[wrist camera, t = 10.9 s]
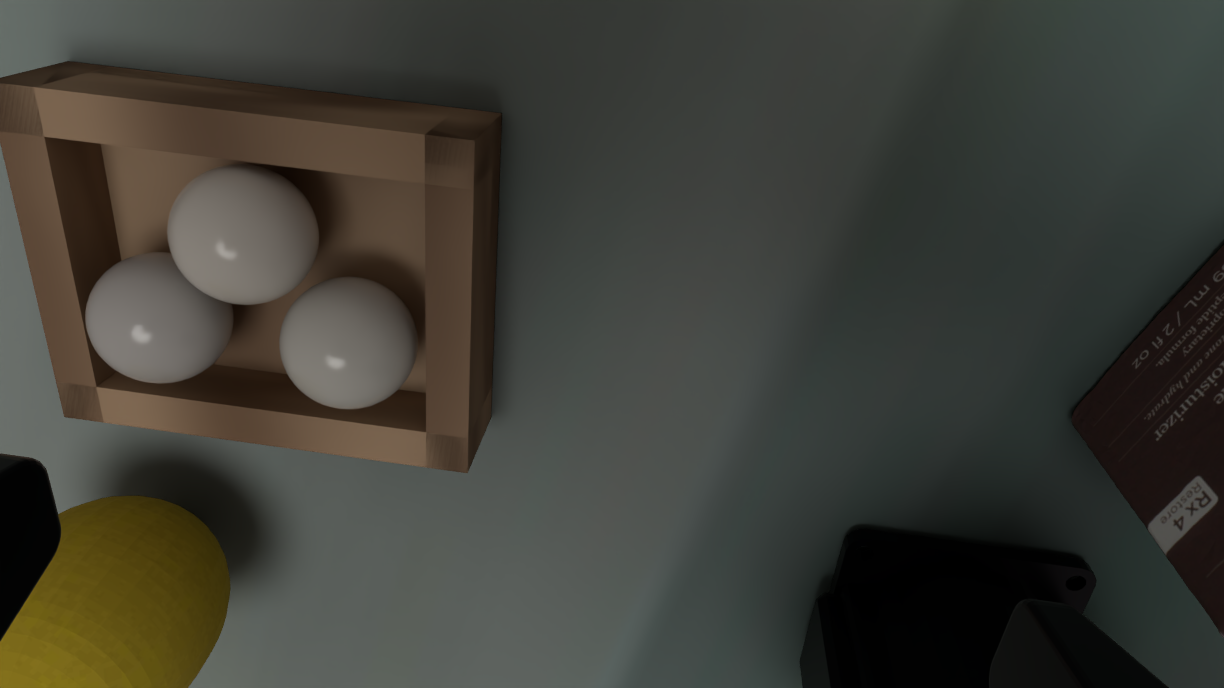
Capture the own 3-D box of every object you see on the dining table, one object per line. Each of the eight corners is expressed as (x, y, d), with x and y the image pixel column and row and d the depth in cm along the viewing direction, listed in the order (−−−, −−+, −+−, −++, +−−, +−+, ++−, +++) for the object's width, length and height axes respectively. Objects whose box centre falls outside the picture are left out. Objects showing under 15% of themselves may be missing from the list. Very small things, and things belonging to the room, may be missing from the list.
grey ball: (336, 156, 19) (276, 197, 17) (343, 280, 21) (288, 337, 18) (205, 140, 19) (124, 178, 17) (221, 264, 21) (148, 318, 18)
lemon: (81, 426, 24) (-176, 641, 17) (273, 459, 24) (93, 689, 17) (108, 573, 27) (-107, 814, 20) (281, 604, 27) (128, 857, 20)
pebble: (250, 241, 20) (181, 292, 18) (262, 353, 22) (199, 416, 19) (127, 225, 20) (40, 274, 18) (146, 338, 22) (68, 398, 19)
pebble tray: (502, 113, 19) (474, 140, 17) (490, 417, 23) (467, 473, 21) (68, 61, 20) (-14, 81, 17) (125, 368, 23) (64, 417, 21)
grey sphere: (434, 265, 20) (392, 320, 17) (434, 376, 22) (395, 443, 19) (308, 249, 20) (248, 301, 18) (316, 361, 22) (261, 425, 19)
